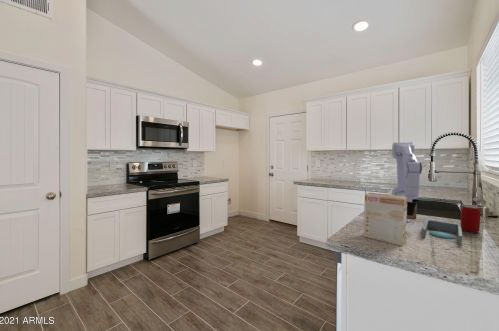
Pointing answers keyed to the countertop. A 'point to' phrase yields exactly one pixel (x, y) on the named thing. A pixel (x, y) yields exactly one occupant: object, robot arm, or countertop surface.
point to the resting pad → (442, 235)
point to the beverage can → (470, 218)
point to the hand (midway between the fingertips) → (410, 214)
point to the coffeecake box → (385, 218)
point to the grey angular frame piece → (443, 228)
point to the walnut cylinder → (413, 214)
